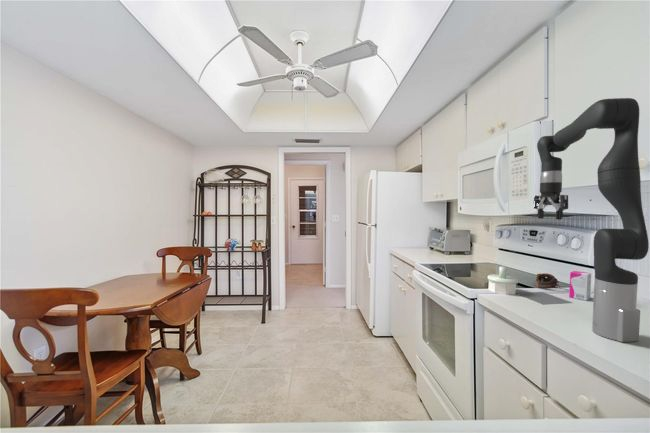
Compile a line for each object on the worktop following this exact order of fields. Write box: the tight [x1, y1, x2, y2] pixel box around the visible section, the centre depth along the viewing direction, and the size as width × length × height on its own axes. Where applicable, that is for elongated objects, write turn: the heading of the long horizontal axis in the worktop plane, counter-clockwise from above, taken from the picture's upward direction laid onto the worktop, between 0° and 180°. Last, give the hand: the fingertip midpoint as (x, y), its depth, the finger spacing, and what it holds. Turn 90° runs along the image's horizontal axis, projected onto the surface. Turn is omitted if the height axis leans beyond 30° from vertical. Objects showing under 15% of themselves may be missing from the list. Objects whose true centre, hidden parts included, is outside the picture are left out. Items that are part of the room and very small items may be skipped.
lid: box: [487, 265, 519, 285], centre depth 129 cm, size 12×12×6 cm
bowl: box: [487, 280, 517, 296], centre depth 130 cm, size 11×11×5 cm
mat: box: [514, 291, 574, 306], centre depth 120 cm, size 14×14×1 cm
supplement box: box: [568, 270, 592, 302], centre depth 120 cm, size 6×6×12 cm
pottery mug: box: [535, 272, 560, 289], centre depth 136 cm, size 12×10×8 cm
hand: (549, 218), depth 123 cm, fingers open, 8 cm apart
